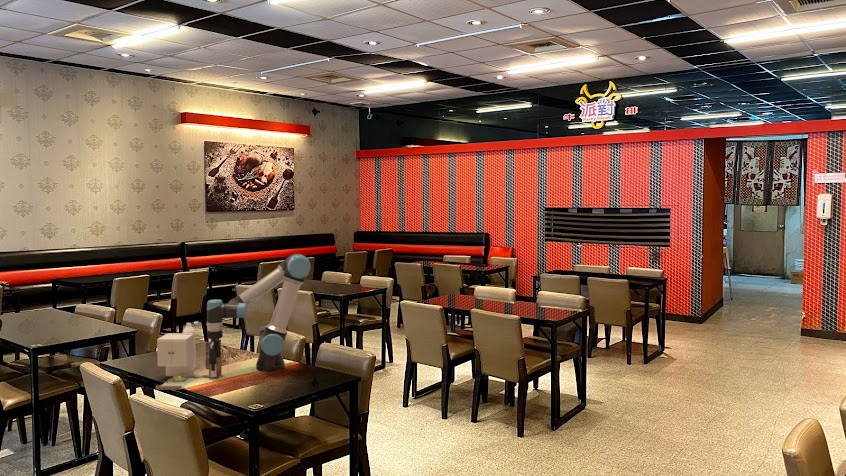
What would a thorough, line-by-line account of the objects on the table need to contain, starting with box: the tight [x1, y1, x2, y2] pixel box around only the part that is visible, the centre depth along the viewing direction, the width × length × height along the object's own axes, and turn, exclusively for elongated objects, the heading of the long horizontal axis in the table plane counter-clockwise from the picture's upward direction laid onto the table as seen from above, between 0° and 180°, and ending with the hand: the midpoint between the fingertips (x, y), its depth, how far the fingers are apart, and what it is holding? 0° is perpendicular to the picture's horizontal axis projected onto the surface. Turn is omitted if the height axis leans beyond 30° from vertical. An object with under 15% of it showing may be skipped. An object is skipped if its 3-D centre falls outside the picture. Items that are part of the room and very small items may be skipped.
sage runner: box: [155, 377, 195, 391], centre depth 322 cm, size 12×20×2 cm, turn 2°
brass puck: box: [172, 374, 186, 382], centre depth 328 cm, size 6×6×2 cm
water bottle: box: [182, 321, 199, 370], centre depth 351 cm, size 9×6×25 cm
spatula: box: [186, 356, 223, 380], centre depth 334 cm, size 21×5×10 cm, turn 92°
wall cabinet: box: [156, 332, 195, 377], centre depth 330 cm, size 14×14×22 cm
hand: (215, 375), depth 334 cm, fingers closed on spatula, 5 cm apart
